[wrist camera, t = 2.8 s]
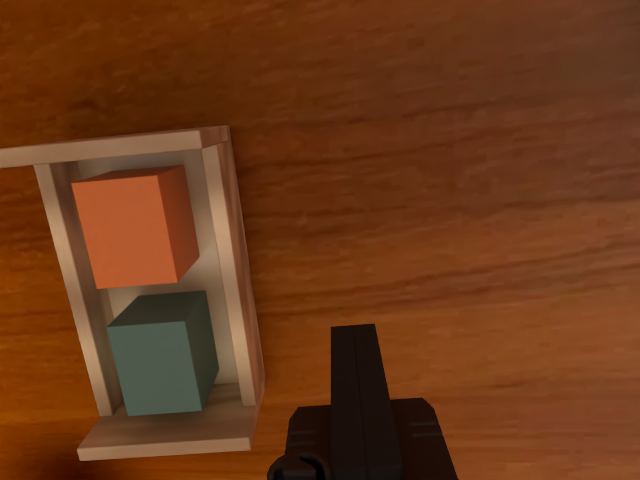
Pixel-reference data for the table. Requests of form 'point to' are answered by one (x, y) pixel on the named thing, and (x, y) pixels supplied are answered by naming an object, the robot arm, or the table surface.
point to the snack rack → (156, 287)
